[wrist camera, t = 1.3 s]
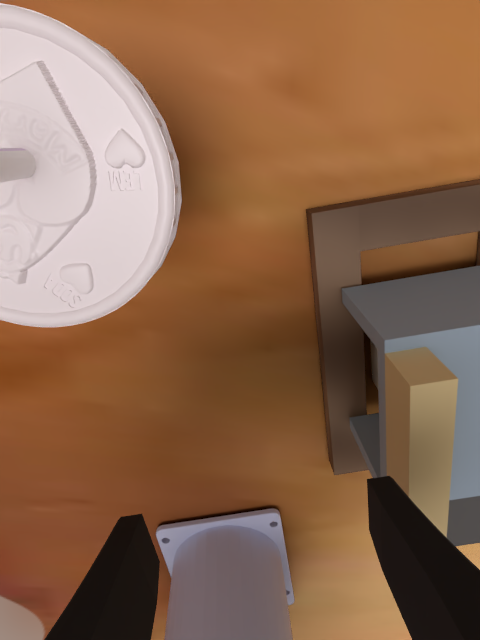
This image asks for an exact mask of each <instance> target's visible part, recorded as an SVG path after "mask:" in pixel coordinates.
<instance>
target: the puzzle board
mask: <svg viewBox="0 0 480 640" xmlns="http://www.w3.org/2000/svg"><path fill="white" fill-rule="evenodd" d="M306 213H307V224H308V235H309V246H310V257H311V267H312V278H313V289H314V300H315V311H316V321H317V332H318V343H319V354H320V365H321V376H322V386H323V397H324V408H325V419H326V430H327V440H328V451H329V461H330V464H331V467H332V469H333V472H334V475H339V474H346V473H352V472H358V471H365V470H369V468H368V466H367V464H366V462H365V460H364V457H363V455H362V453H361V451H360V449H359V446H358V444H357V442H356V440H355V438H354V435H353V433H352V431H351V429H350V417H357V416H363V415H367V410H366V385H365V360H364V335H363V329H362V328H361V326H360V325H359V324H358V323H357V321H356V320H355V319H354V317H353V316H352V315H351V313H350V312H349V311H348V309H347V308H346V307H345V305H344V304H343V303H342V289H343V288H349V287H355V286H361V285H362V284H361V259H360V251H365V250H370V249H376V248H382V247H388V246H394V245H400V244H406V243H412V242H418V241H423V240H429V239H435V238H441V237H447V236H453V235H459V234H465V233H471V232H476V231H479V236H478V248H477V260H476V266H480V179H478V180H473V181H467V182H461V183H455V184H449V185H444V186H438V187H432V188H426V189H421V190H415V191H409V192H403V193H398V194H392V195H386V196H380V197H375V198H369V199H363V200H357V201H351V202H346V203H340V204H334V205H328V206H323V207H317V208H311V209H306Z"/></svg>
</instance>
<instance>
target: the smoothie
mask: <svg viewBox="0 0 480 640" xmlns="http://www.w3.org/2000/svg"><path fill="white" fill-rule="evenodd" d="M181 203H182V196H181V184H180V172H179V161H178V159H177V156H176V153H175V150H174V147H173V144H172V141H171V138H170V135H169V132H168V129H167V126H166V123H165V121H164V119H163V118H162V116H161V114H160V113H159V111H158V109H157V108H156V106H155V105H154V103H153V101H152V100H151V98H150V97H149V95H148V93H147V92H146V90H145V89H144V87H143V85H142V84H141V83H140V82H139V81H138V80H137V79H136V78H135V77H134V76H133V75H132V74H131V73H130V72H129V71H128V70H127V69H126V68H125V67H124V66H123V65H122V64H121V63H120V62H119V61H118V60H117V59H116V58H115V57H114V56H113V55H112V54H111V53H110V52H109V51H108V50H107V49H105V48H104V47H102V46H100V45H99V44H97V43H95V42H94V41H92V40H90V39H89V38H87V37H85V36H84V35H82V34H80V33H79V32H77V31H75V30H74V29H72V28H70V27H69V26H67V25H65V24H63V23H61V22H59V21H57V20H55V19H53V18H51V17H48V16H46V15H43V14H41V13H38V12H35V11H33V10H29V9H25V8H22V7H18V6H14V5H8V4H1V3H0V320H3V321H7V322H11V323H15V324H20V325H26V326H35V327H62V326H71V325H76V324H81V323H85V322H88V321H92V320H95V319H97V318H100V317H102V316H105V315H107V314H109V313H111V312H113V311H115V310H116V309H118V308H119V307H121V306H122V305H124V304H125V303H127V302H128V301H129V300H130V299H132V298H133V297H134V296H135V295H136V294H137V293H138V292H139V291H140V290H141V289H142V288H143V287H144V286H145V285H146V283H147V282H148V281H149V280H150V278H151V277H152V276H153V275H154V274H155V273H156V272H157V270H158V269H159V268H160V267H161V266H162V264H163V262H164V260H165V258H166V255H167V253H168V251H169V249H170V247H171V245H172V243H173V241H174V239H175V237H176V232H177V226H178V220H179V215H180V209H181Z"/></svg>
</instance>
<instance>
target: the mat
mask: <svg viewBox="0 0 480 640" xmlns="http://www.w3.org/2000/svg"><path fill="white" fill-rule="evenodd" d="M447 539H448V540H449V541H450V542H451V543H452V544H453V545H454V546H460V545H467V544H474V543H480V496H475V497H468V498H461V499H455V500H449V512H448V526H447Z"/></svg>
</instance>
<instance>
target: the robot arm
mask: <svg viewBox="0 0 480 640" xmlns="http://www.w3.org/2000/svg"><path fill="white" fill-rule="evenodd" d="M367 487H368V510H369V530H370V534H371V537H372V540H373V543H374V546H375V549H376V552H377V555H378V559H379V562H380V565H381V568H382V570H383V573H384V575H385V577H386V580H387V582H388V585H389V587H390V589H391V591H392V594H393V596H394V598H395V601H396V603H397V605H398V608H399V610H400V612H401V615H402V617H403V619H404V622H405V624H406V626H407V628H408V631H409V633H410V635H411V638H412V640H480V570H479V569H478V568H477V567H476V566H475V565H474V564H473V563H472V562H471V561H470V560H469V559H467V558H466V557H465V556H464V555H463V554H462V553H461V552H460V551H459V550H458V549H457V548H456V547H455V546H454V545H453V544H452V543H451V542H450V541H449V540H448V539H447V538H446V537H445V536H444V535H443V534H442V533H441V532H440V531H439V530H438V529H437V527H436V526H435V525H434V524H433V523H432V522H431V521H430V520H429V519H428V518H427V517H426V516H425V515H424V514H423V512H422V511H421V510H420V509H419V508H418V507H417V506H416V505H415V504H414V503H413V501H412V500H411V499H410V498H409V497H408V496H407V495H406V493H405V492H404V491H403V490H402V489H401V487H400V486H399V485H398V484H397V483H396V481H395V480H394V479H393V478H392V477H390V476H384V477H378V478H371V479H367ZM273 521H274V522H273ZM156 537H157V540H158V543H159V545H160V548H161V551H162V554H163V556H164V559H165V562H166V565H167V567H168V570H169V573H170V576H171V578H172V579H171V588H170V596H169V605H168V614H167V622H166V631H165V639H164V640H293V637H292V630H291V623H290V616H289V609H288V605H291V604H293V603H294V600H295V599H294V593H293V588H292V582H291V576H290V570H289V564H288V558H287V553H286V547H285V541H284V535H283V529H282V523H281V518H280V513H279V511H278V510H277V509H274V508H273V509H265V510H258V511H252V512H245V513H238V514H232V515H225V516H219V517H212V518H206V519H199V520H193V521H186V522H180V523H173V524H167V525H161V526H159V527H158V528H157V531H156ZM159 563H160V561H159V559H158V556H157V553H156V551H155V548H154V545H153V543H152V540H151V537H150V534H149V532H148V529H147V526H146V524H145V521H144V518H143V516H142V514H138V515H131V516H125V517H121V518H120V519H119V520H118V522H117V523H116V525H115V527H114V528H113V530H112V532H111V534H110V536H109V537H108V539H107V541H106V543H105V544H104V546H103V548H102V549H101V551H100V553H99V555H98V556H97V558H96V560H95V561H94V563H93V565H92V566H91V568H90V570H89V572H88V573H87V575H86V576H85V578H84V580H83V581H82V583H81V584H80V586H79V588H78V589H77V591H76V593H75V594H74V596H73V597H72V599H71V601H70V602H69V604H68V605H67V607H66V608H65V610H64V611H63V613H62V614H61V616H60V617H59V619H58V620H57V622H56V623H55V625H54V626H53V628H52V629H51V631H50V632H49V634H48V635H47V637H46V638H45V640H151V635H152V629H153V623H154V617H155V611H156V605H157V594H158V580H159Z"/></svg>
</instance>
